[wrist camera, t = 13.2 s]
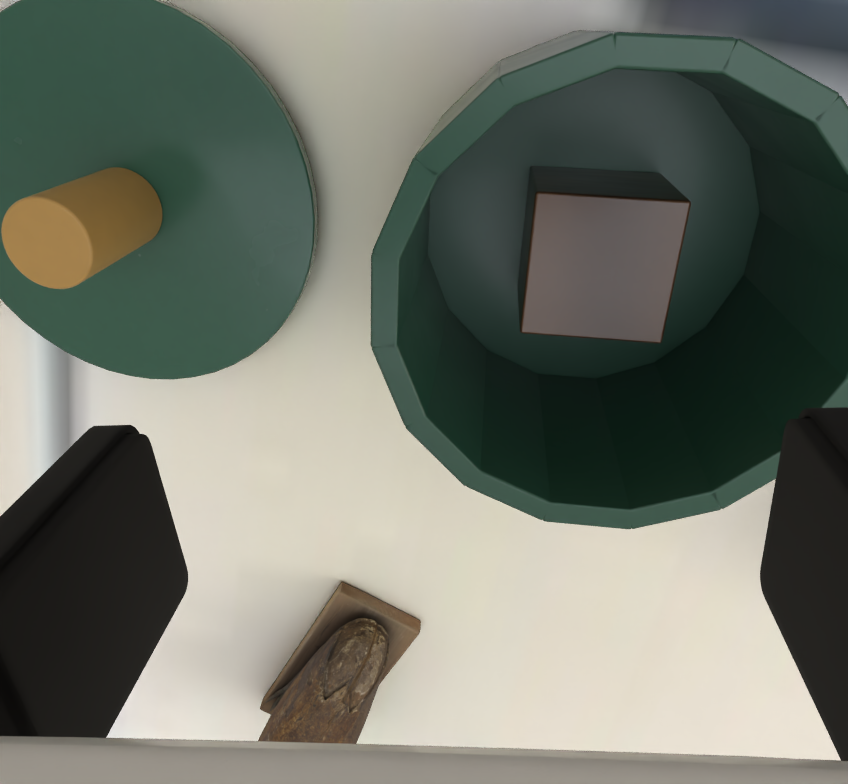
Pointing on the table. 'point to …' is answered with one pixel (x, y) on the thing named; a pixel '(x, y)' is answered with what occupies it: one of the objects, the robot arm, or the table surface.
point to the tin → (692, 294)
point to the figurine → (337, 670)
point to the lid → (146, 188)
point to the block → (599, 253)
